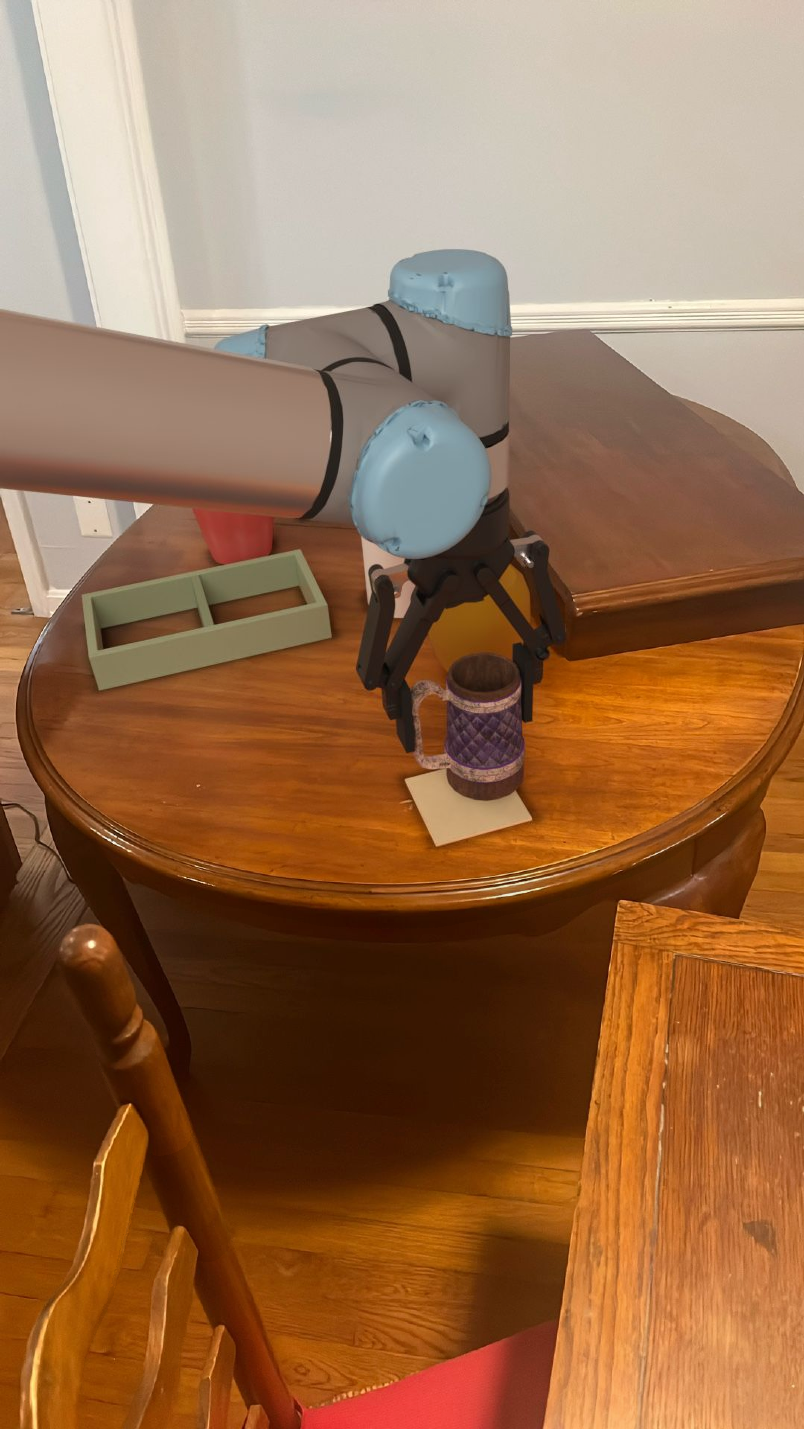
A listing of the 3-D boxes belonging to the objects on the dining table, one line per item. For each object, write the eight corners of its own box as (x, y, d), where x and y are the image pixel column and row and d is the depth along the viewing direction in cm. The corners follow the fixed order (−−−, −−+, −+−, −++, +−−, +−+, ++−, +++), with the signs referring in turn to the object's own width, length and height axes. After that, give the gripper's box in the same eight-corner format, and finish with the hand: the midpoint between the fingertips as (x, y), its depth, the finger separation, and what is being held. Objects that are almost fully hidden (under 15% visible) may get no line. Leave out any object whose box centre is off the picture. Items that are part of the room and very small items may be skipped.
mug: (509, 744, 92) (509, 637, 85) (536, 793, 87) (539, 684, 80) (403, 767, 91) (394, 661, 83) (424, 820, 85) (416, 711, 78)
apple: (438, 639, 111) (433, 536, 103) (535, 646, 109) (538, 542, 101) (417, 699, 103) (410, 593, 95) (522, 708, 100) (524, 600, 92)
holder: (99, 691, 107) (88, 657, 104) (91, 626, 117) (81, 594, 115) (332, 638, 112) (327, 604, 110) (305, 580, 123) (300, 548, 120)
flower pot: (223, 529, 135) (210, 461, 128) (297, 537, 131) (287, 468, 125) (185, 568, 127) (169, 498, 121) (263, 578, 124) (250, 507, 118)
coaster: (436, 847, 86) (435, 844, 86) (404, 781, 93) (404, 778, 93) (532, 821, 88) (532, 818, 88) (494, 758, 95) (494, 755, 94)
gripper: (578, 439, 76) (567, 673, 90) (292, 496, 72) (327, 732, 86) (624, 479, 70) (604, 722, 84) (316, 543, 66) (349, 788, 80)
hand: (464, 727), depth 85 cm, fingers closed on mug, 10 cm apart
